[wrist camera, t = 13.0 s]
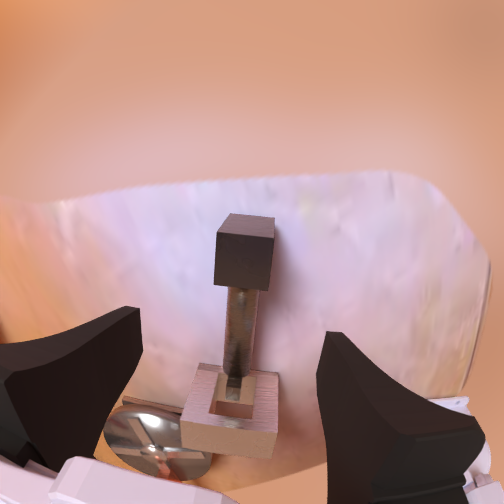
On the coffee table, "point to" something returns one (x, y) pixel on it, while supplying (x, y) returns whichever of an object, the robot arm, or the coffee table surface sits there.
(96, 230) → the coffee table surface
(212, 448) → the square metal collar
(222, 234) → the square dumbbell
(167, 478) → the handwheel
